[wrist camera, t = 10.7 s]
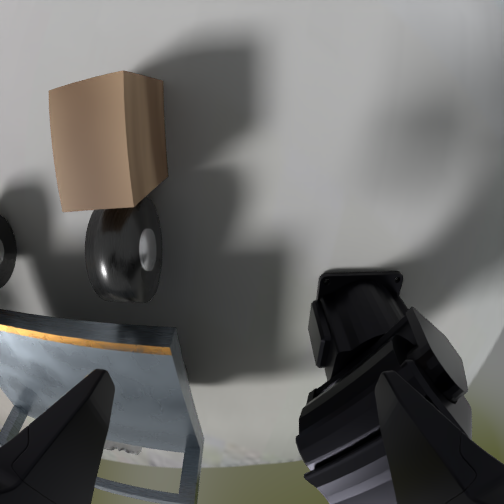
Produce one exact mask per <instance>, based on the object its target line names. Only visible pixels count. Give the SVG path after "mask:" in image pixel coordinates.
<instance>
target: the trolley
mask: <svg viewBox="0 0 504 504" xmlns="http://www.w3.org/2000/svg"><path fill="white" fill-rule="evenodd" d="M85 259H86V267H87V272H88V276H89V279H90V282H91V284H92V286H93V288H94V290H95V292H96V293H97V294H98V296H99V297H101V298H102V299H104V300H106V301H118V302H138V303H147V302H149V301H150V300H151V299H152V298H153V297H154V295H155V293H156V290H157V287H158V284H159V279H160V274H161V265H162V237H161V228H160V222H159V218H158V214H157V211H156V208H155V206H154V204H153V202H152V201H151V200H150V199H149V198H147V197H144V198H143V199H142V200H141V201H140V202H139V203H138V204H137V205H136V206H135V207H128V208H112V209H97V210H94V211H93V213H92V215H91V218H90V220H89V224H88V228H87V232H86V240H85ZM15 261H16V243H15V238H14V234H13V231H12V229H11V227H10V225H9V223H8V222H7V221H6V219H5V218H4V217H2V216H1V215H0V288H2V287H3V286H4V285H5V284H6V283H7V282H8V280H9V279H10V277H11V275H12V273H13V270H14V266H15ZM95 369H104V370H107V371H108V372H109V375H110V377H111V379H112V381H113V383H114V385H115V394H114V400H113V406H112V412H111V418H110V424H109V429H108V433H107V437H106V440H110V441H114V442H119V443H124V444H129V445H134V446H140V447H146V448H152V449H159V450H166V451H174V452H183V453H185V454H184V460H183V467H182V474H181V481H180V488H179V494H174V493H168V492H162V491H156V490H150V489H145V488H140V487H135V486H130V485H126V484H122V483H117V482H114V481H110V480H106V479H103V478H99V477H97V478H96V482H95V487H94V488H97V489H101V490H104V491H107V492H111V493H115V494H119V495H123V496H127V497H131V498H136V499H140V500H145V501H150V502H155V503H161V504H197V500H198V491H199V480H200V472H201V463H202V453H203V445H204V437H203V433H202V430H201V426H200V423H199V419H198V416H197V412H196V409H195V405H194V401H193V398H192V394H191V390H190V386H189V382H188V374H187V369H186V366H185V364H184V362H183V357H182V353H181V349H180V344H179V339H178V335H177V330H176V327H158V326H141V325H126V324H114V323H102V322H92V321H82V320H73V319H64V318H56V317H49V316H41V315H34V314H27V313H21V312H15V311H8V310H3V309H0V387H1V389H2V390H3V392H4V393H5V394H6V396H7V397H8V398H9V399H10V401H11V402H12V403H13V405H14V407H13V409H12V411H11V412H10V414H9V416H8V418H7V420H6V422H5V424H4V426H3V428H2V430H1V432H0V447H1V446H3V445H4V444H5V443H7V442H8V441H10V440H11V439H12V438H14V437H15V436H16V435H17V434H18V433H19V431H20V429H21V427H22V425H23V423H24V421H25V419H26V417H27V415H28V416H30V417H33V418H38V417H39V416H40V415H41V414H42V413H43V412H45V411H46V410H47V409H48V408H49V407H50V406H52V405H53V404H54V403H55V402H56V401H58V400H59V399H60V398H61V397H62V396H64V395H65V394H66V393H67V392H68V391H69V390H71V389H72V388H73V387H74V386H75V385H77V384H78V383H79V382H80V381H81V380H83V379H84V378H85V377H86V376H87V375H89V374H90V373H91V372H92V371H93V370H95Z"/></svg>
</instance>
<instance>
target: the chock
mask: <svg viewBox="0 0 504 504" xmlns="http://www.w3.org/2000/svg"><path fill="white" fill-rule="evenodd" d="M49 113H50V127H51V138H52V148H53V156H54V164H55V171H56V178H57V184H58V190H59V195H60V201H61V206H62V211H63V212H72V211H84V210H97V209H112V208H128V207H135V206H136V205H137V204H138V203H139V202H140V201H141V200H142V199H143V198H144V197H146V196H147V195H148V194H149V193H150V192H151V191H152V190H153V189H155V188H156V187H157V186H158V185H159V184H160V183H161V182H163V181H164V180H165V179H166V178H167V177H168V168H167V155H166V139H165V120H164V94H163V81H162V80H158V79H155V78H151V77H147V76H143V75H140V74H136V73H132V72H127V71H119V72H114V73H110V74H106V75H101V76H97V77H93V78H89V79H86V80H82V81H78V82H75V83H71V84H68V85H65V86H62V87H58V88H55V89H52V90H49Z"/></svg>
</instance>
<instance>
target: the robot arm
mask: <svg viewBox="0 0 504 504" xmlns="http://www.w3.org/2000/svg"><path fill="white" fill-rule="evenodd" d="M396 277H398V279H396V280H395V278H396ZM326 279H329V281H328V282H324V280H326ZM402 282H403V276H402V274H401V273H400V272H398V271H389V272H353V273H324V274H322V275H321V276H320V277H319V282H318V290H317V298H316V300H314V301H313V302H312V303H311V311H310V318H309V326H308V330H309V335H310V339H311V344H312V349H313V354H314V358H315V363H316V366H317V367H319V368H325V372H326V376H327V382H326V383H325V384H323V385H322V386H320V387H319V388H318V389H314V390H313V391H311V392H310V393H309V395H308V400H307V404H306V406H305V407H304V408H303V409H302V412H301V415H300V418H299V435H298V436H296V444H297V447H298V451H299V453H300V455H301V457H302V459H303V461H304V463H305V464H306V466H307V467H308V468H309V470H310V472H307V473H305V474H304V478H305V479H306V480H307V481H308V482H310V483H311V484H312V485H314V486H315V487H316V488H317V489H318V490H319V491H320V492H321V493H322V494H323V495H324V496H325V497H326V499H327V501H328V502H329V504H504V464H503V463H501V462H500V461H498V460H497V459H496V458H494V457H493V456H491V455H490V454H488V453H487V452H486V451H484V450H483V449H482V448H480V447H479V446H478V445H477V444H476V443H474V442H473V441H472V411H471V407H470V405H469V403H468V401H467V400H466V398H465V397H464V394H466V393H467V392H468V387H467V381H466V376H465V371H464V367H463V362H462V359H461V357H460V356H459V354H458V353H457V352H456V350H455V349H454V347H453V346H452V345H451V343H450V342H449V340H448V339H447V338H446V336H445V335H444V334H443V333H442V332H440V331H439V330H438V329H437V328H436V327H435V326H434V325H433V324H432V323H431V322H429V321H428V320H427V319H426V318H425V317H424V316H423V315H422V314H420V313H419V312H418V311H417V310H416V309H415V308H414V307H411V308H410V309H409V310H408V309H407V307H406V305H405V304H404V302H403V301H402V299H401V298H400V296H399V293H400V289H401V286H402ZM114 394H115V385H114V383H113V381H112V379H111V377H110V375H109V372H108V371H107V370H104V369H95V370H93V371H92V372H91V373H90V374H89V375H87V376H86V377H85V378H84V379H83V380H81V381H80V382H79V383H78V384H77V385H75V386H74V387H73V388H72V389H71V390H69V391H68V392H67V393H66V394H65V395H64V396H62V397H61V398H60V399H59V400H58V401H56V402H55V403H54V404H53V405H52V406H50V407H49V408H48V409H47V410H46V411H45V412H43V413H42V414H41V415H40V416H39V417H38V418H36V419H35V420H34V421H33V422H32V423H30V424H29V426H27V427H26V428H25V429H23V430H22V431H21V432H20V433H18V434H17V435H16V436H15V437H14V438H12V439H11V440H10V441H8V442H7V443H5V444H4V445H3V446H1V447H0V504H91V501H92V496H93V491H94V487H95V482H96V478H97V473H98V469H99V465H100V461H101V457H102V453H103V449H104V445H105V441H106V437H107V433H108V429H109V424H110V418H111V412H112V406H113V400H114Z"/></svg>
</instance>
